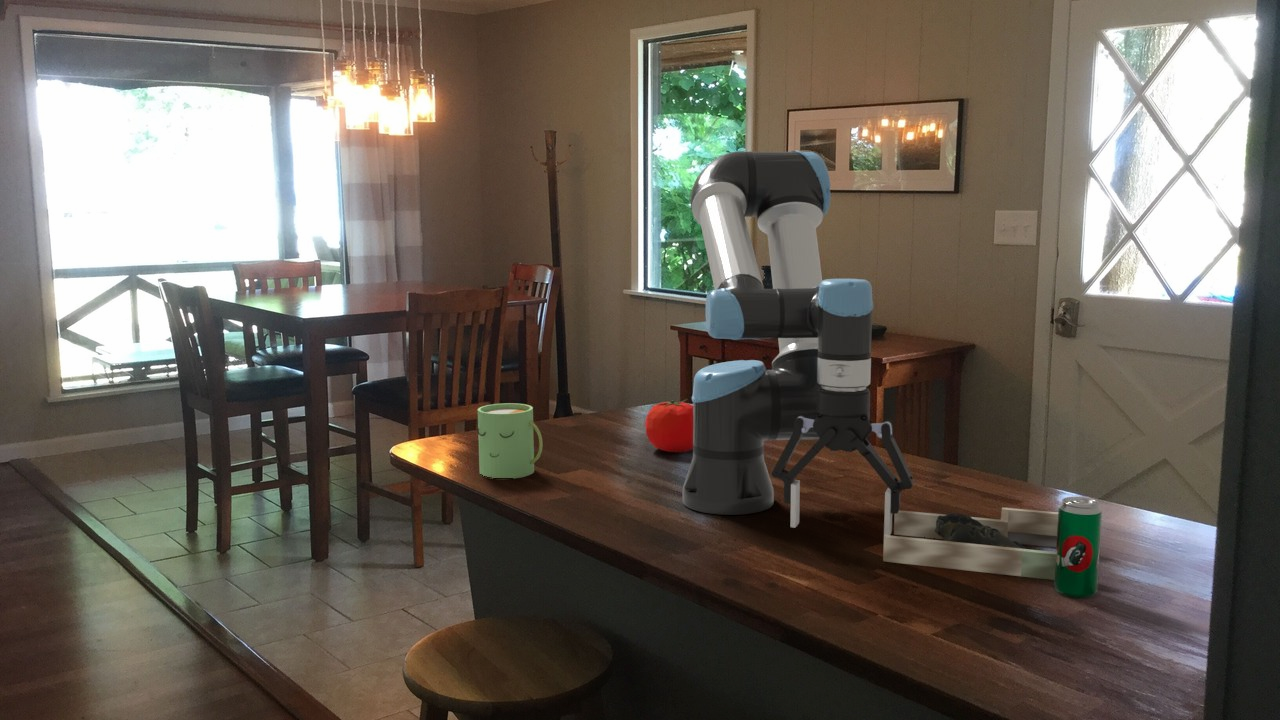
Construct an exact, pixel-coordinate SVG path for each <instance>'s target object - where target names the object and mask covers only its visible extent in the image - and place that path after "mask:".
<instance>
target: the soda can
mask: <svg viewBox="0 0 1280 720" xmlns="http://www.w3.org/2000/svg"><path fill="white" fill-rule="evenodd" d="M1057 512H1058V524H1057V543H1056V548H1055V552H1056V561H1055V579H1054V580H1053V581H1054V583H1053V586H1054V589H1055V590H1056V591H1057V592H1058V593H1059V594H1060V595H1062V596H1064V597H1068V598H1072V599H1088V598H1092V597H1093V596H1094V595H1096V593H1097V592H1098V582H1099V568H1100V566H1099V565H1100V552H1101V550H1100V549H1101V535H1102V533H1101V532H1102V516H1103V513H1102V510H1101V507H1100V503H1099V501H1097V500H1095V499H1092V498H1088V497H1081V496H1068V497H1063V498H1062V499H1061V504H1060V505H1059V506H1058V507H1057Z"/></svg>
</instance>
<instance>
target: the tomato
mask: <svg viewBox="0 0 1280 720" xmlns="http://www.w3.org/2000/svg"><path fill="white" fill-rule="evenodd" d="M687 400H688V398H685V399H683V400H681V401H676V402H675V400H673V399H672V400H670V401H662V402H659V403H658V404H656V405H655V404H654V405H653V406H652V407H651V409H650V411H648V413H647V415H646V419H645V422H644V426H645V435H646V437H647V439H648V441H649V442H650V444H651V445H652V446H653V447H655V448H656V449H658V450H661V451H664V452H667V453H685V452H688V451H691V450H693V404H690V403H687V402H685V401H687Z"/></svg>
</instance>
